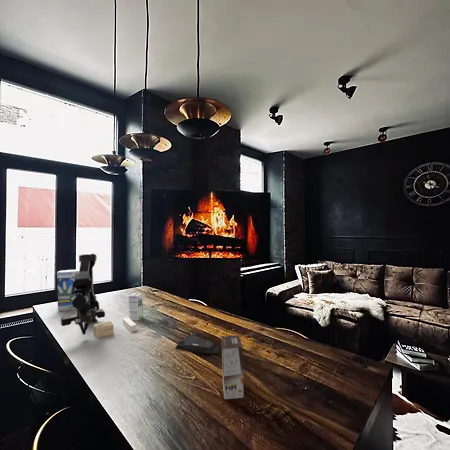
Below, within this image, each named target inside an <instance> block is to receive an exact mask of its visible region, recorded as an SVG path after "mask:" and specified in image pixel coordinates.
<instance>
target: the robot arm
mask: <svg viewBox="0 0 450 450" xmlns="http://www.w3.org/2000/svg"><path fill="white" fill-rule="evenodd" d="M97 260H98V259H97V254H95V253H94V252H91V253H88V252H87V253H81V254H80V255H79V254H78V262H79V263H80V265H79V269H78V270H79V274H77V275H76V277H75V280H74V281H73V289H72V294H76V297H75V298H74V300H73V302H72V305H73V307H74V308H76V309H75V310H76V315H75V316H71V315H66V316H62V317H60V325H61V327H65V326H69V325H71V324H72V322H74V323H75V325H78V326H79V328H80V330H81V333H82V335H84V336H85V335H86V333H87V329H88V327H89V325H90V324H91V323H95V322H98V321H99V320H98V319H102V318H104V317H106V312H105V311H104V309H102V308H100V302H99V300H97V295H96V294H95V293H94V271H93V268H95V265H96V261H97ZM75 288H76V290H75ZM79 289H80V290H79ZM97 318H98V319H97Z"/></svg>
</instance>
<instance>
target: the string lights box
mask: <svg viewBox="0 0 450 450" xmlns="http://www.w3.org/2000/svg"><path fill="white" fill-rule="evenodd" d="M79 270H80V269H67V270H66V269H65V270H63V269H62V270H59V271H57V272H56V276H57V277H56V279H57V280H56V281H57V287H56V288H57V292H56V293H57V311H72V310H73V311H74V310H77V309H76V308H74V307H73V305H72V302H73V300H74V298H75V297H76V294H72V289H73V281H74V280H75V277H76V275H77V274H79ZM75 290H76V288H75ZM79 290H80V289H79Z"/></svg>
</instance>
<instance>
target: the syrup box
mask: <svg viewBox="0 0 450 450" xmlns="http://www.w3.org/2000/svg"><path fill="white" fill-rule="evenodd" d="M143 307H144V304H143V293H141V292H135V293H134V292H133V293H132V294H130V295H128V313H129V316H128V318H130V319H131V320H132V321H139V320H141V319H142V318H144V308H143Z"/></svg>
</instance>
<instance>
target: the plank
mask: <svg viewBox="0 0 450 450" xmlns="http://www.w3.org/2000/svg"><path fill="white" fill-rule="evenodd" d="M122 324H123V326H124V327H126V329H127V330H128V331H129V332H131V333H132V332H135V331H137V324H136V323H135V322H134V320H131V319H130V318H129V316H127V317H123V318H122Z"/></svg>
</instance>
